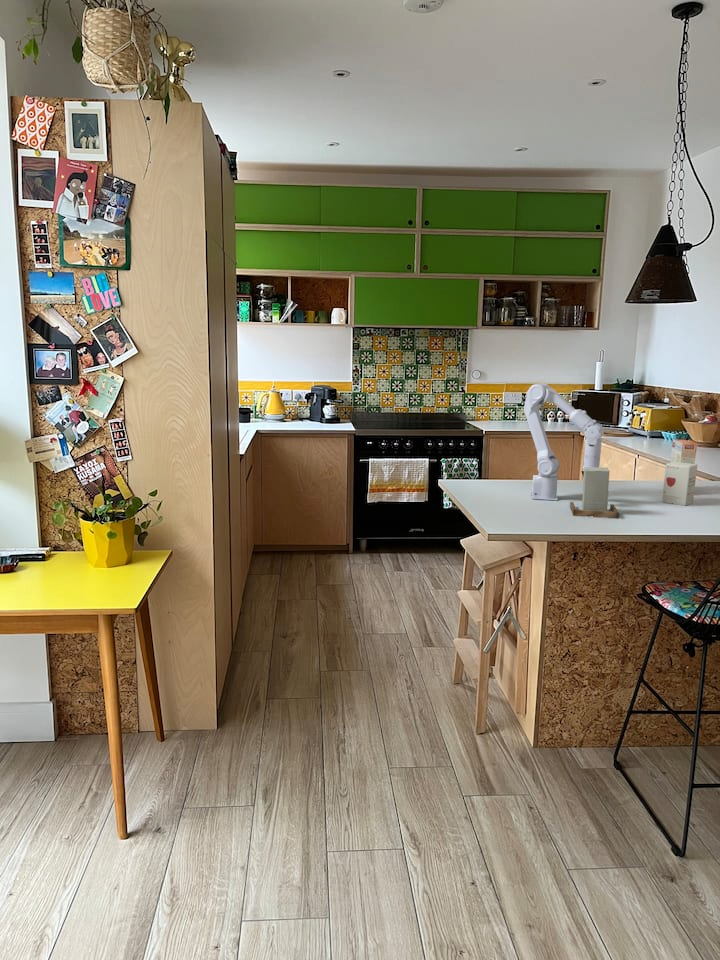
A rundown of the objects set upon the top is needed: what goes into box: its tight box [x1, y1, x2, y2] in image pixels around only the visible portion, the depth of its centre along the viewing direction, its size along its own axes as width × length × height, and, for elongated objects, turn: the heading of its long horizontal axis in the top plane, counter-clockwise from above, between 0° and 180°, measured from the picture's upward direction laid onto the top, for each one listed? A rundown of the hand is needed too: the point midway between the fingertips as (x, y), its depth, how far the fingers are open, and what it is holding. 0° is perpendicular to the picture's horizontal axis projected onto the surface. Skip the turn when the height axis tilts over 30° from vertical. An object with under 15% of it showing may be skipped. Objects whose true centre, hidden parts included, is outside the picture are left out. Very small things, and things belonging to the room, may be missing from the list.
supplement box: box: [661, 461, 698, 506], centre depth 270 cm, size 9×9×15 cm
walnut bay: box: [569, 501, 620, 519], centre depth 251 cm, size 15×14×2 cm
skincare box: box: [581, 466, 610, 512], centre depth 251 cm, size 8×7×16 cm
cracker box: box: [670, 438, 698, 464], centre depth 291 cm, size 14×6×21 cm, turn 171°
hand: (588, 492), depth 266 cm, fingers open, 7 cm apart
